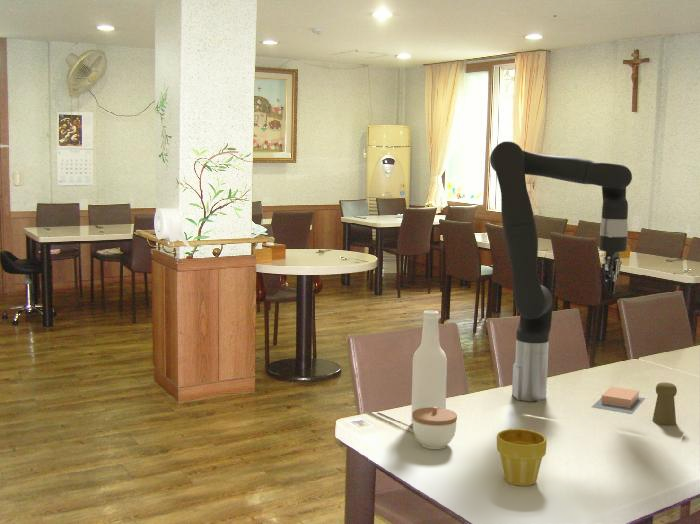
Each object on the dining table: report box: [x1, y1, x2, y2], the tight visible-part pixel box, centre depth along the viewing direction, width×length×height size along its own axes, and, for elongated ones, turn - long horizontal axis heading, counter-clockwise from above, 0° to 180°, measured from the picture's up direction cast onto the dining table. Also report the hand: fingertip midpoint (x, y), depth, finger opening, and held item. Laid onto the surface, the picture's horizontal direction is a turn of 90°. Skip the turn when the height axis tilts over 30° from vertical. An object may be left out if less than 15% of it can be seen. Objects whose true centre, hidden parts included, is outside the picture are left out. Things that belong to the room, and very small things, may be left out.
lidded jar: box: [411, 407, 458, 450], centre depth 188 cm, size 11×11×9 cm
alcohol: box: [410, 309, 448, 424], centre depth 202 cm, size 9×9×30 cm
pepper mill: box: [652, 381, 678, 427], centre depth 206 cm, size 6×6×11 cm
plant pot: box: [496, 428, 548, 487], centre depth 167 cm, size 10×10×10 cm
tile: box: [601, 386, 640, 408], centre depth 225 cm, size 2×8×11 cm
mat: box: [591, 396, 646, 415], centre depth 224 cm, size 18×11×1 cm, turn 148°
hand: (610, 294), depth 226 cm, fingers closed
